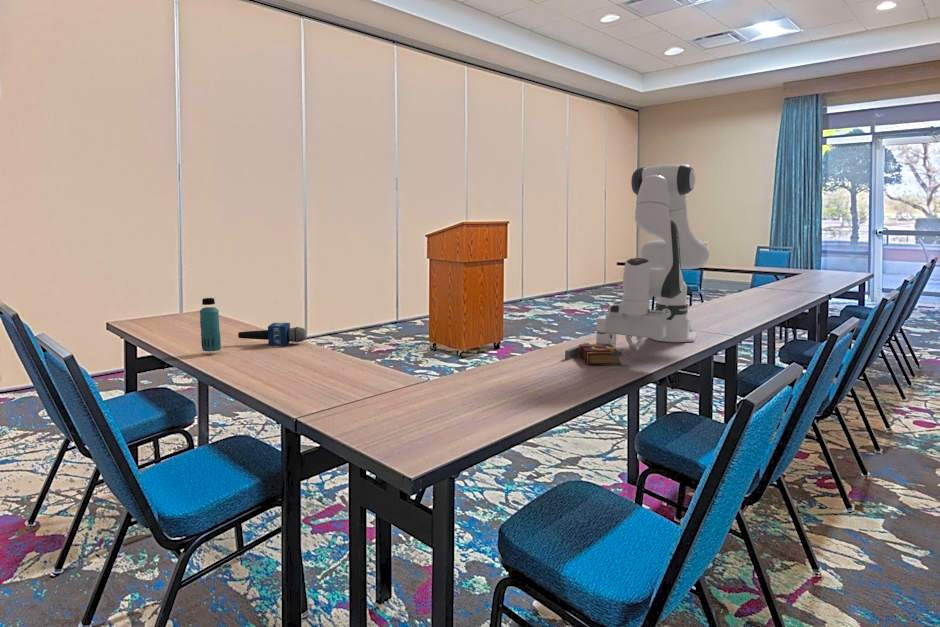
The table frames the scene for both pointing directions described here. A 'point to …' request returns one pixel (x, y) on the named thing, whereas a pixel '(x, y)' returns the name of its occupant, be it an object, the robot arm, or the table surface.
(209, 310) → the beverage bottle
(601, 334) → the ink box
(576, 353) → the charcoal bar
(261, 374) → the table surface
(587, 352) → the decorative book
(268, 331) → the microphone
